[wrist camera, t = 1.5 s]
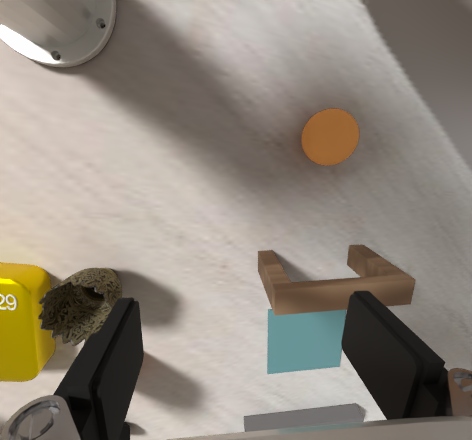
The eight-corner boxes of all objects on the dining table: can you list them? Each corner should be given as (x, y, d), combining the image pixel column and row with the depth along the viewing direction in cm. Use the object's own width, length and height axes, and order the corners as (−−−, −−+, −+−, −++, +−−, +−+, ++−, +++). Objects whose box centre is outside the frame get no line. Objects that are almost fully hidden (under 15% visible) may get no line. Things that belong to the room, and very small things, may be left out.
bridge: (258, 251, 35) (275, 290, 25) (362, 244, 36) (415, 279, 27) (258, 270, 36) (274, 315, 26) (360, 263, 37) (410, 304, 27)
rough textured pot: (81, 245, 32) (41, 277, 25) (140, 260, 33) (119, 295, 26) (72, 295, 34) (31, 339, 26) (128, 307, 35) (105, 352, 28)
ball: (295, 112, 30) (315, 104, 24) (344, 111, 30) (375, 104, 25) (293, 164, 32) (311, 168, 26) (339, 162, 32) (367, 166, 26)
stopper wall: (243, 416, 43) (245, 432, 41) (355, 403, 45) (364, 418, 42) (244, 424, 44) (246, 441, 41) (354, 411, 45) (362, 426, 43)
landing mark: (268, 309, 38) (268, 310, 37) (345, 303, 38) (346, 303, 38) (267, 373, 41) (267, 374, 41) (338, 365, 42) (339, 366, 42)
